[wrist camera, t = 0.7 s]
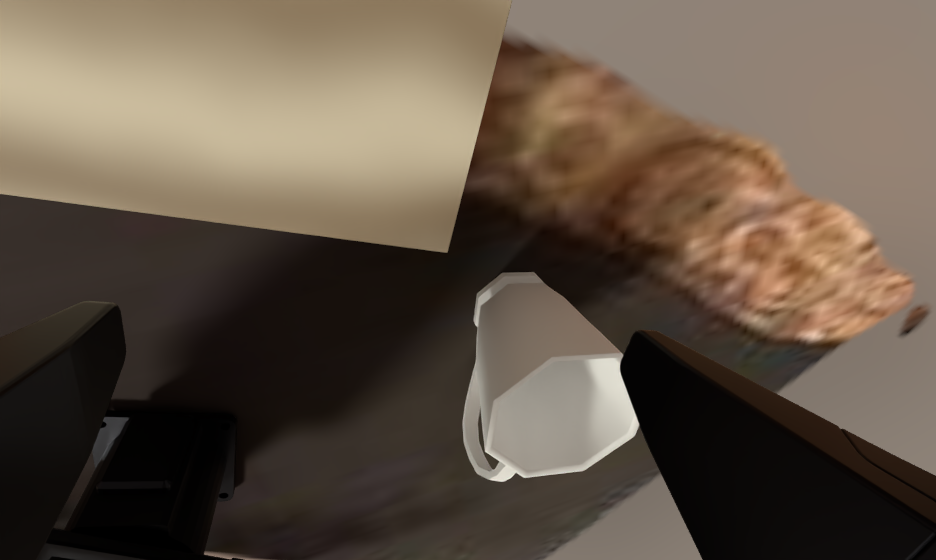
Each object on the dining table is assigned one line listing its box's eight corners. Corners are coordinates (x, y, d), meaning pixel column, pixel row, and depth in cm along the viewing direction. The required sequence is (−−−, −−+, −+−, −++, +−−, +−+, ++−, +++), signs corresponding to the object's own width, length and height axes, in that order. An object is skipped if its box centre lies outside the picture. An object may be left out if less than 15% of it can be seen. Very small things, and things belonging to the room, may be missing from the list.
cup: (600, 272, 26) (688, 376, 19) (507, 406, 30) (554, 531, 23) (487, 226, 23) (544, 328, 16) (401, 380, 27) (418, 513, 20)
